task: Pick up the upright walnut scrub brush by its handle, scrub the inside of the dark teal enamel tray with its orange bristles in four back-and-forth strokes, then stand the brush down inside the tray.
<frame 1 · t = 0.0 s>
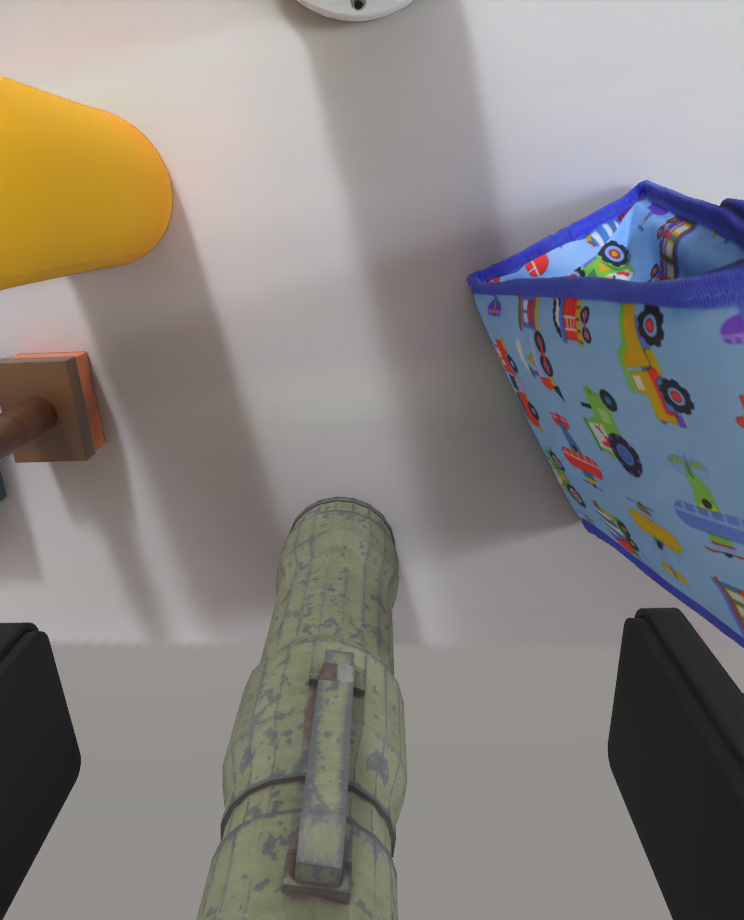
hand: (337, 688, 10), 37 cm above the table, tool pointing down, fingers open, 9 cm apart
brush: (63, 399, 47), on the table
thermos: (341, 544, 51), on the table
lunch bag: (606, 368, 46), on the table
beer bottle: (108, 191, 42), on the table
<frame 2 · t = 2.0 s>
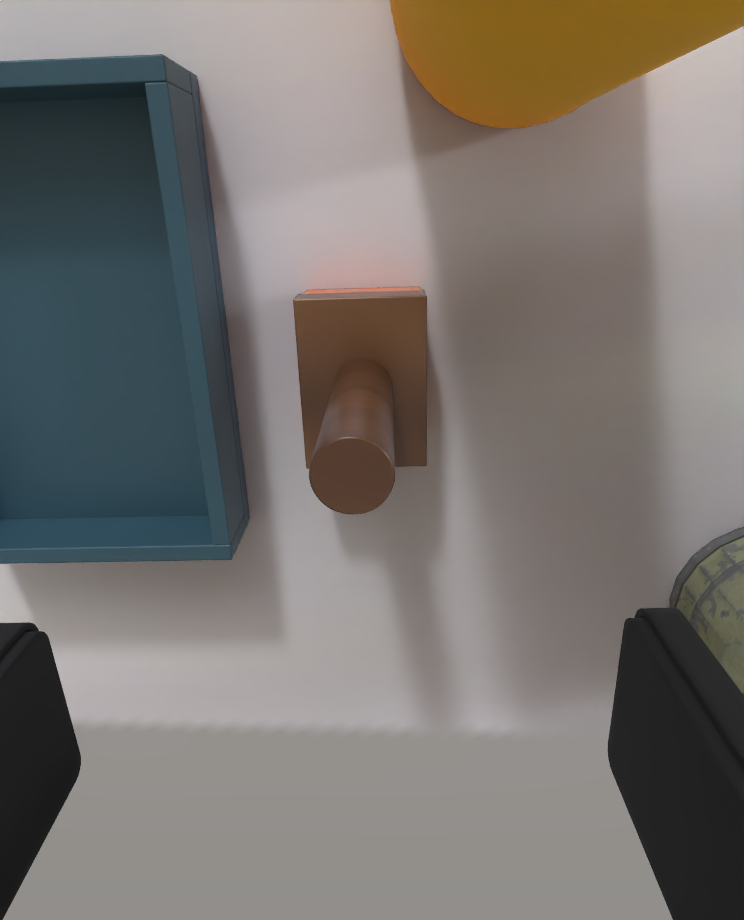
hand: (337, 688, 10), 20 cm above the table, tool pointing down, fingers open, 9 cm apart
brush: (365, 366, 29), on the table
tray: (78, 330, 29), on the table
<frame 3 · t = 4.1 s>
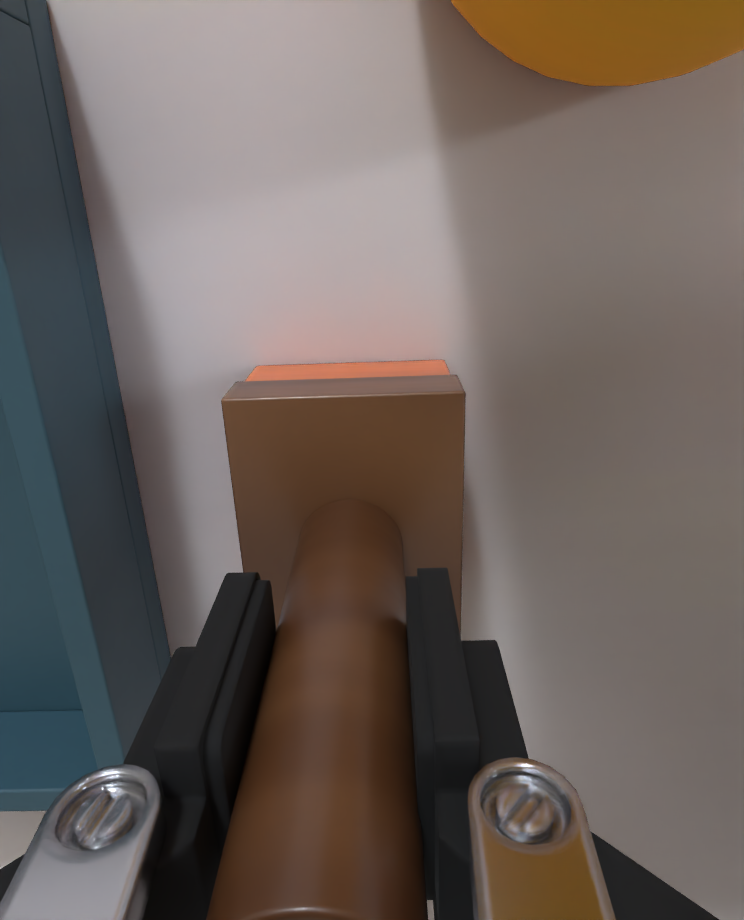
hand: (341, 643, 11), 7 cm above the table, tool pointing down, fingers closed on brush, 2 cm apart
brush: (355, 483, 18), on the table, touching gripper
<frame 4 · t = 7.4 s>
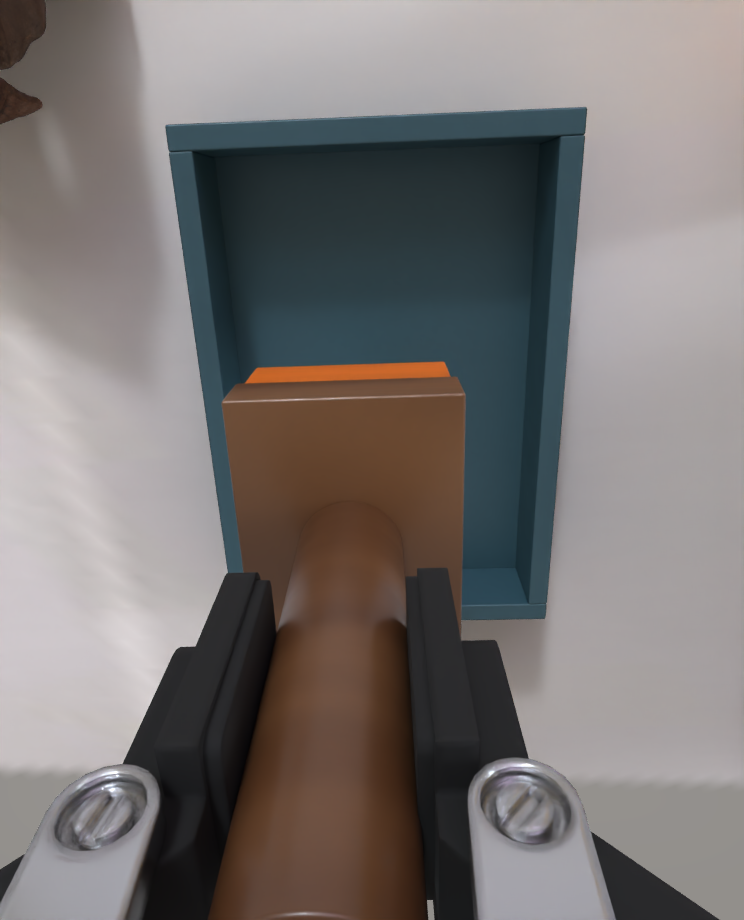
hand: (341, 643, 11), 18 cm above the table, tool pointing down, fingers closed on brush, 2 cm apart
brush: (356, 485, 18), point 11 cm above the table, touching gripper
tray: (383, 380, 28), on the table
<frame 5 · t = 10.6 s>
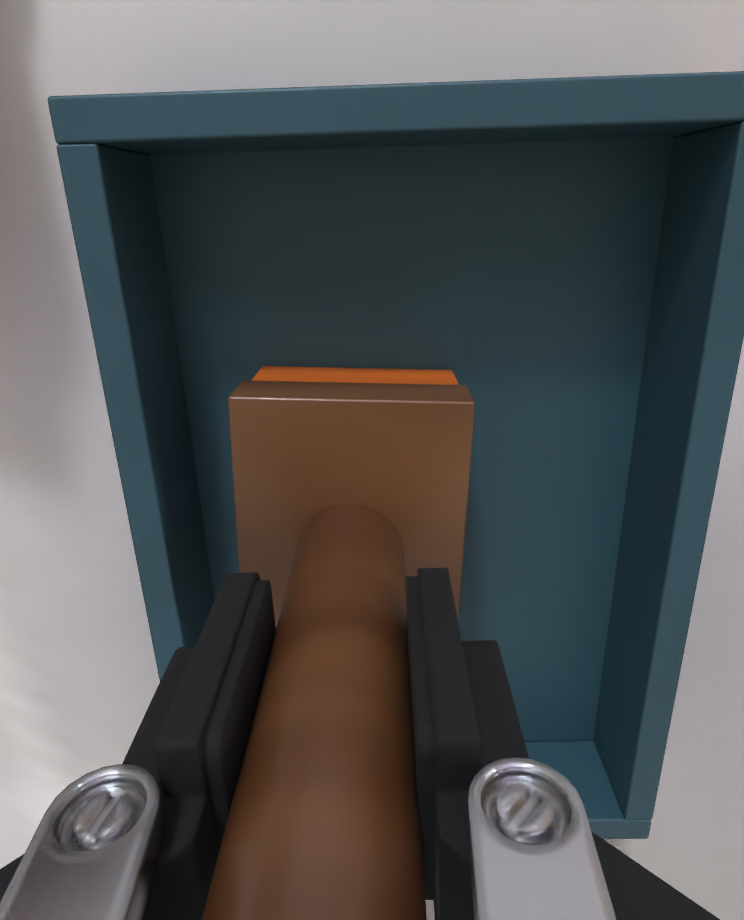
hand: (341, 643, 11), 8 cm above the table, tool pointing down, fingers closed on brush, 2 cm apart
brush: (356, 490, 18), point 1 cm above the table, touching gripper, tray
tray: (409, 485, 19), on the table
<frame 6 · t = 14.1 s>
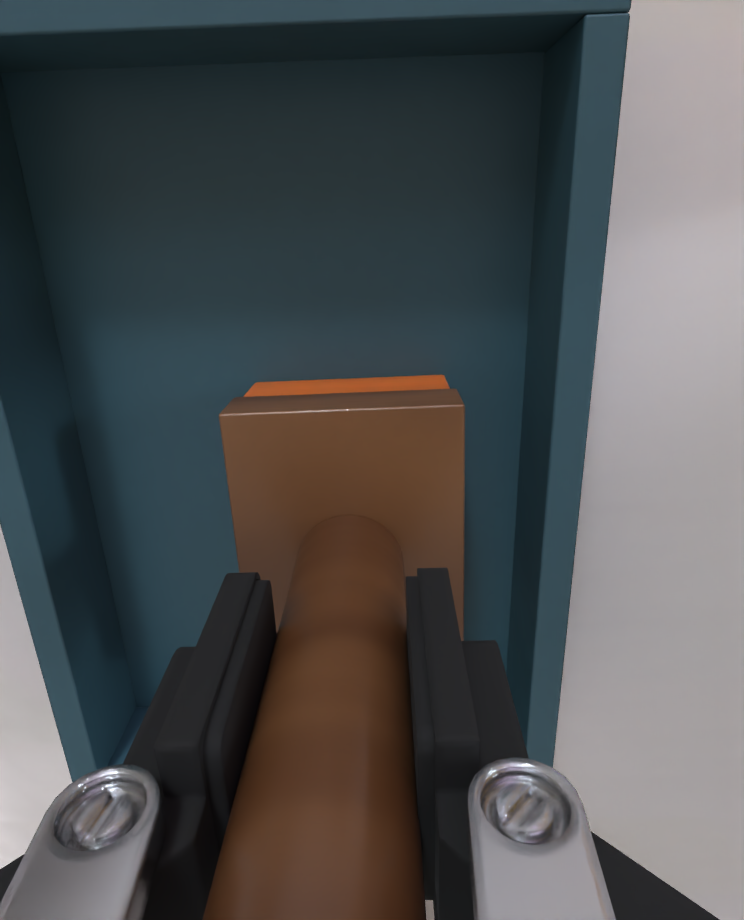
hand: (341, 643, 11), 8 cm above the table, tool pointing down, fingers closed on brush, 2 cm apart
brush: (356, 500, 18), point 1 cm above the table, touching gripper
tray: (303, 433, 18), on the table
when the fingers open (8 cm above the table, at t = 17.2 s): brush stays where it is, resting on tray.
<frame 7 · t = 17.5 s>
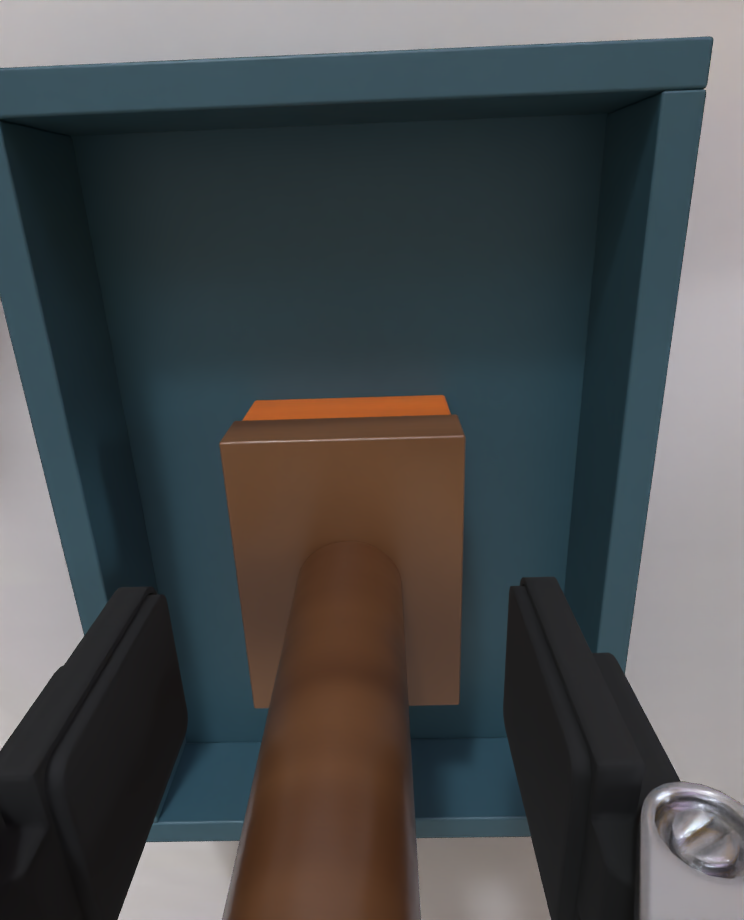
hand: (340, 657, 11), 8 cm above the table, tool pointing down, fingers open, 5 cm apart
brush: (355, 516, 18), point 1 cm above the table, touching tray
tray: (356, 476, 18), on the table
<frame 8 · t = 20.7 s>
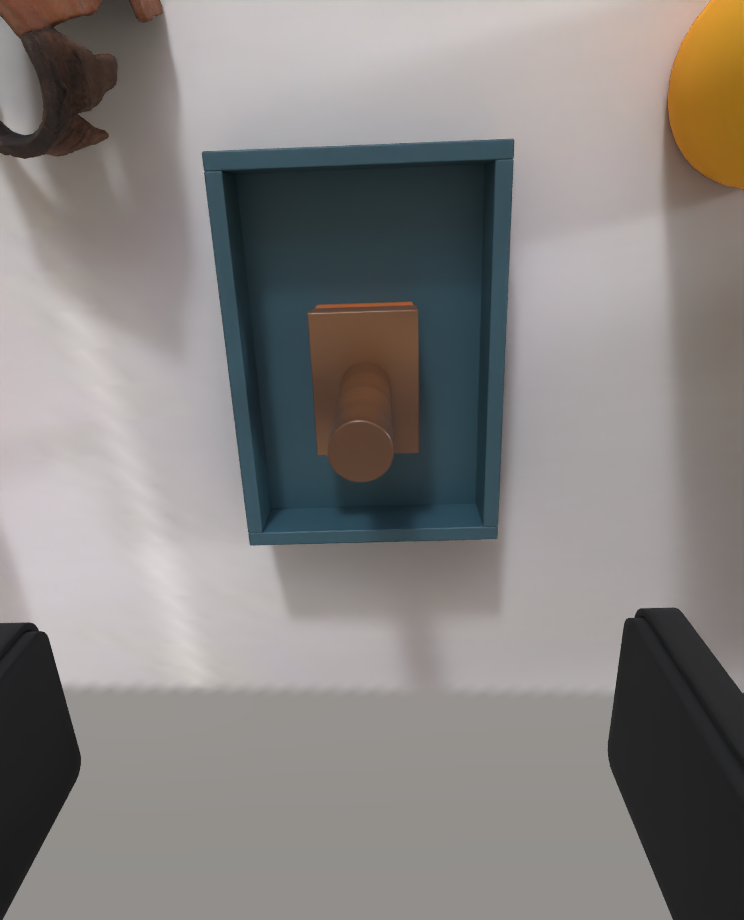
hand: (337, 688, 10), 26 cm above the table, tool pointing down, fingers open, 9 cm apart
brown twisted loop: (54, 17, 29), on the table
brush: (366, 369, 34), point 1 cm above the table, touching tray
tray: (367, 350, 35), on the table
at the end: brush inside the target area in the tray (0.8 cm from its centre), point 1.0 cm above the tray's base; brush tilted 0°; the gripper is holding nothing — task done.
